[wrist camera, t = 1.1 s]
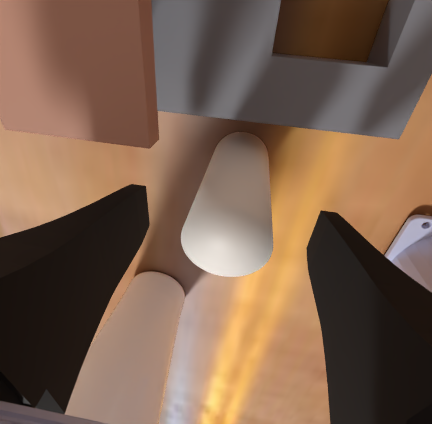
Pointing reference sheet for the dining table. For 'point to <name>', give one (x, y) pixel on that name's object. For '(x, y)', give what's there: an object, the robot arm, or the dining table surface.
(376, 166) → the dining table surface
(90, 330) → the robot arm
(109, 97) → the socket station
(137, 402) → the cream rounded cylinder
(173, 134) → the dining table surface
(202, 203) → the peg
